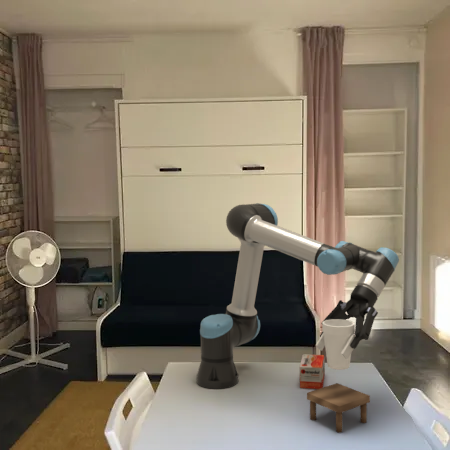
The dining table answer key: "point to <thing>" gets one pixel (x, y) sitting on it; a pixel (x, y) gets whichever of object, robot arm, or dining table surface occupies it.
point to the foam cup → (337, 341)
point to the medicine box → (312, 371)
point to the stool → (338, 402)
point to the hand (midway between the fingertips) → (331, 352)
